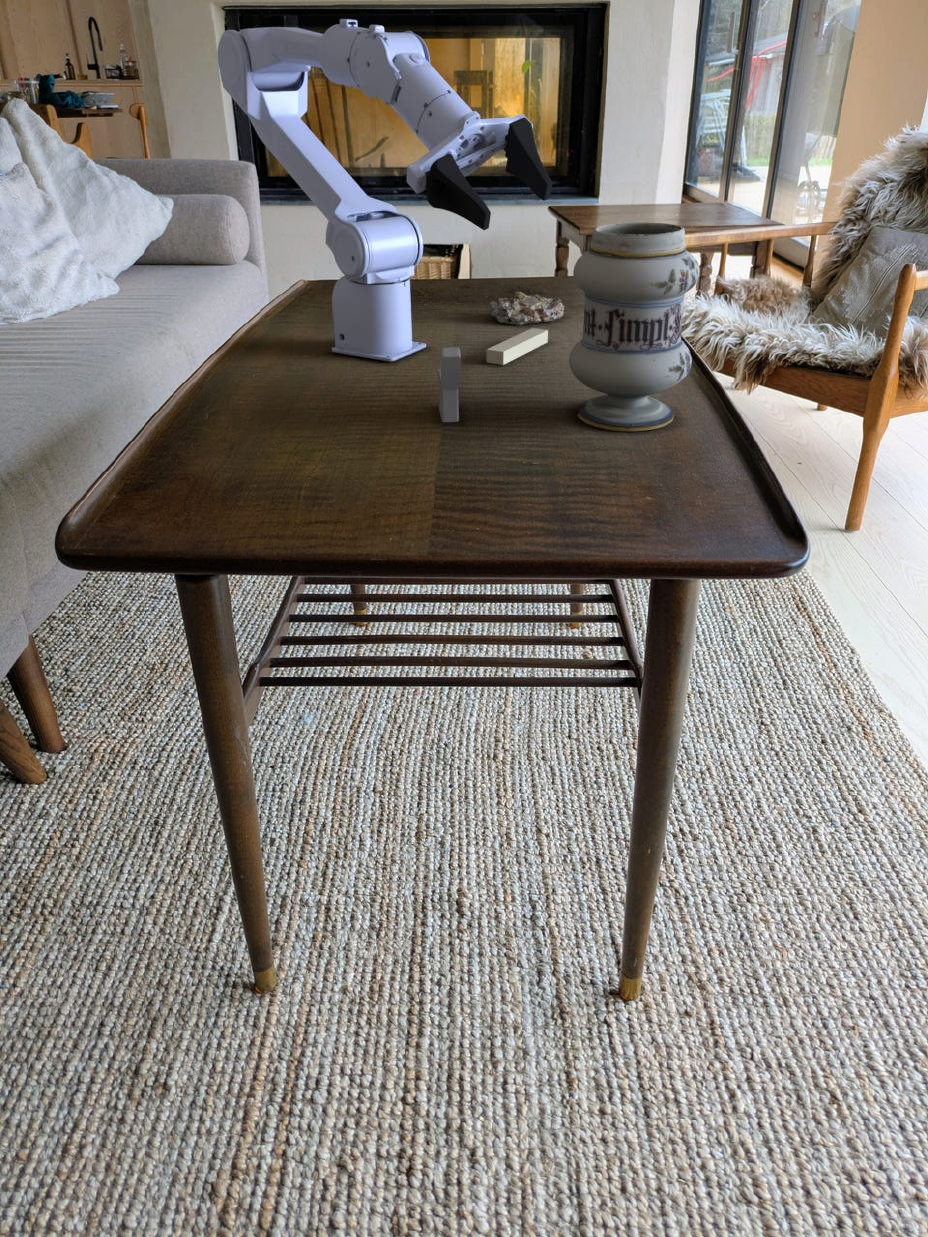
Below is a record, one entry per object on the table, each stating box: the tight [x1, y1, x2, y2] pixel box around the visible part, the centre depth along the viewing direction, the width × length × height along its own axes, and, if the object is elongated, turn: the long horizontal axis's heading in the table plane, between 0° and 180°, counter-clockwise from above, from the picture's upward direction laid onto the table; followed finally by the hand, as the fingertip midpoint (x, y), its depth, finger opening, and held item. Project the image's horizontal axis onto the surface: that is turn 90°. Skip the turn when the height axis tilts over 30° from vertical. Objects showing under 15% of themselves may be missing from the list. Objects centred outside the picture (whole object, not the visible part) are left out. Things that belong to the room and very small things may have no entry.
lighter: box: [437, 346, 462, 423], centre depth 90 cm, size 7×2×8 cm, turn 6°
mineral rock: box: [489, 291, 565, 326], centre depth 128 cm, size 11×4×8 cm
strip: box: [485, 327, 549, 366], centre depth 113 cm, size 2×12×2 cm, turn 149°
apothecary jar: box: [568, 221, 701, 433], centre depth 88 cm, size 12×12×18 cm
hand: (518, 206), depth 90 cm, fingers open, 7 cm apart
